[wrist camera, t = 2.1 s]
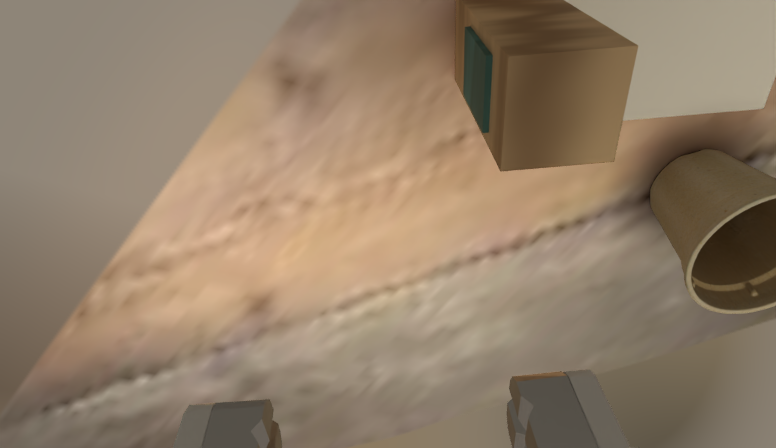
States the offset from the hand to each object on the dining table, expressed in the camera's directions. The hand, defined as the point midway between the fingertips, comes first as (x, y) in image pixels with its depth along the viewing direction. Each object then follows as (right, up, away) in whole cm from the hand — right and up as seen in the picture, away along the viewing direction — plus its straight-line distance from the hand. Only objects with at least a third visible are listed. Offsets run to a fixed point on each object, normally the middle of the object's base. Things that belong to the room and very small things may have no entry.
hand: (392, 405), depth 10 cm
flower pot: (+22, +6, +28) cm, 36 cm away
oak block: (+6, +15, +21) cm, 26 cm away
